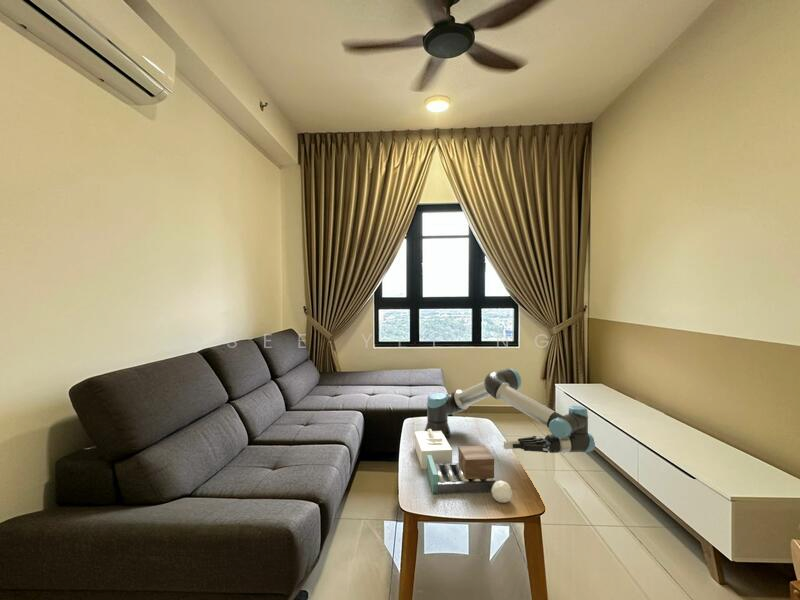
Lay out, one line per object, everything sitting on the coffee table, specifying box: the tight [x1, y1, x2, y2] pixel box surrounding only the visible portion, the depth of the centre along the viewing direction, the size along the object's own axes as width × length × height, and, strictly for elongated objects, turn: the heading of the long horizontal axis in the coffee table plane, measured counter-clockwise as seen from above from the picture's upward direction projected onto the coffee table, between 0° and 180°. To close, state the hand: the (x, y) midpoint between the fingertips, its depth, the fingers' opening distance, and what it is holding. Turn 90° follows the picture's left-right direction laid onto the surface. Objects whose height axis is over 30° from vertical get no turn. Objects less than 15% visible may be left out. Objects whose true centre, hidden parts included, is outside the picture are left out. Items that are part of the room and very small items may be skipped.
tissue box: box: [414, 429, 453, 470], centre depth 184 cm, size 14×25×11 cm, turn 5°
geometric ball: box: [490, 480, 513, 504], centre depth 143 cm, size 8×8×8 cm
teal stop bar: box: [426, 455, 439, 495], centre depth 158 cm, size 19×2×8 cm, turn 3°
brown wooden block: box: [457, 445, 495, 480], centre depth 159 cm, size 14×12×8 cm
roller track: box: [426, 462, 501, 495], centre depth 159 cm, size 19×28×4 cm, turn 93°
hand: (504, 445), depth 159 cm, fingers closed
